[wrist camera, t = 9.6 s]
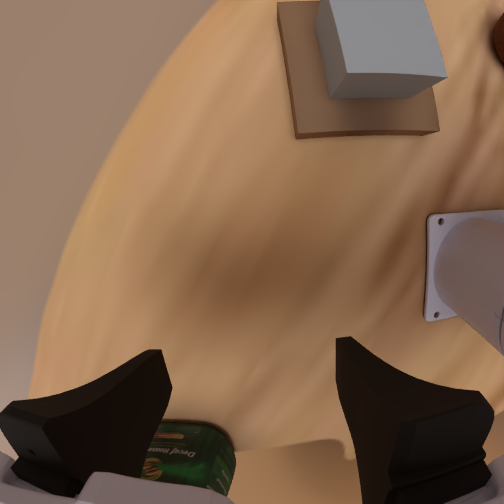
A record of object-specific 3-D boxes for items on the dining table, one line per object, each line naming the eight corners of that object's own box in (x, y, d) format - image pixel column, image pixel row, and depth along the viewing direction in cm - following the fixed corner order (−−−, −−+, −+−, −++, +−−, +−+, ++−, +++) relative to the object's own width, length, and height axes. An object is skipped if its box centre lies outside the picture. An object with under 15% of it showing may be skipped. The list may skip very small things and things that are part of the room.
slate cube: (391, 27, 14) (419, -9, 9) (409, 98, 15) (447, 77, 10) (314, 25, 15) (323, -17, 10) (329, 99, 16) (347, 72, 11)
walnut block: (396, 25, 16) (410, 7, 13) (420, 136, 18) (439, 131, 15) (277, 23, 17) (277, 2, 14) (295, 140, 19) (298, 133, 16)
